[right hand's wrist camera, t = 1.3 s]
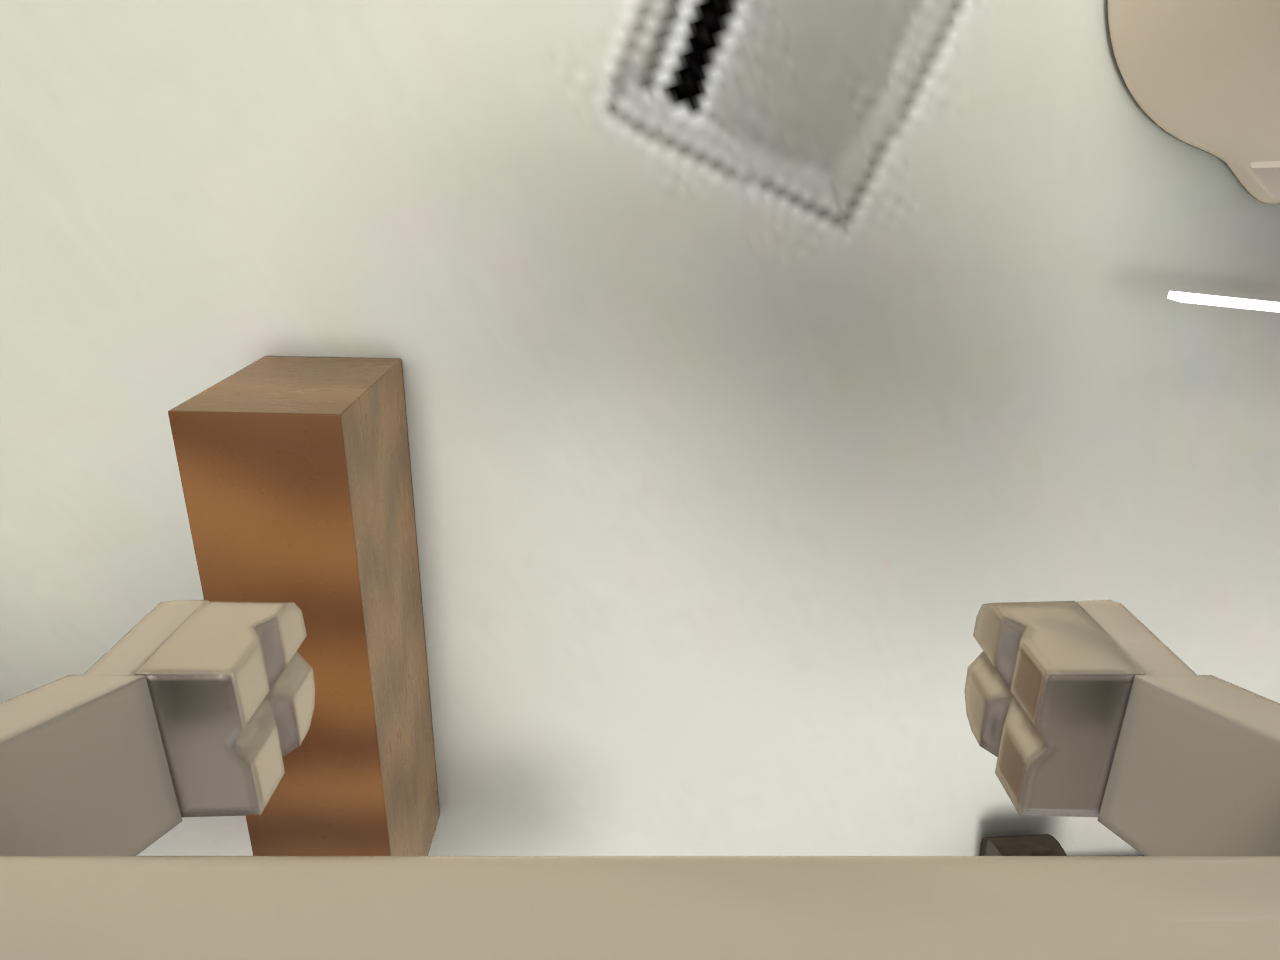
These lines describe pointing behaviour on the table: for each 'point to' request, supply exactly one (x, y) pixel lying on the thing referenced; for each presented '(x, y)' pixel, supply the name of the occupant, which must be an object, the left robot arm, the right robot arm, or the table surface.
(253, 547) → the box
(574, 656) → the table surface
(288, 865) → the right robot arm
